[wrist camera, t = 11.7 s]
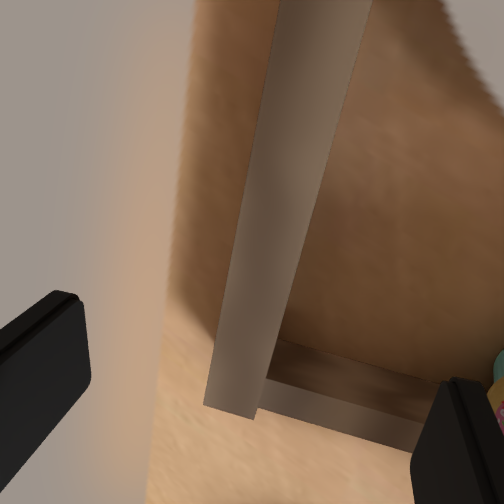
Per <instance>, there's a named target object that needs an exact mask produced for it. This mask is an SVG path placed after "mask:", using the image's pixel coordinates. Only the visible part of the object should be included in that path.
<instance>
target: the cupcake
mask: <svg viewBox="0 0 504 504" xmlns="http://www.w3.org/2000/svg"><path fill="white" fill-rule="evenodd" d="M493 374H494V384H493V385H492V386H491V388H490V389H489V391H488V393H487V397H488V399H489V402H490V404H491V406H492V409H493V411H494V413H495V416H496V418H497V420H498V423H499V425H500V428H501V430H502V432H503V435H504V349H503V350H502V351H501V352H500V354H499V355H498V356H497V358H496V360H495V363H494V367H493Z"/></svg>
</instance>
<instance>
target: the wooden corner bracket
mask: <svg viewBox="0 0 504 504" xmlns="http://www.w3.org/2000/svg"><path fill="white" fill-rule="evenodd" d="M372 2H373V0H280V5H279V10H278V15H277V21H276V26H275V31H274V36H273V42H272V47H271V52H270V57H269V62H268V68H267V73H266V78H265V83H264V89H263V94H262V99H261V104H260V109H259V115H258V120H257V125H256V130H255V135H254V141H253V146H252V151H251V156H250V162H249V167H248V172H247V177H246V182H245V188H244V193H243V198H242V203H241V209H240V214H239V219H238V224H237V229H236V235H235V240H234V245H233V250H232V256H231V261H230V266H229V271H228V276H227V282H226V287H225V292H224V297H223V302H222V308H221V313H220V318H219V323H218V329H217V334H216V339H215V344H214V349H213V355H212V360H211V365H210V370H209V376H208V381H207V386H206V391H205V396H204V402H203V405H205V406H208V407H211V408H215V409H218V410H221V411H225V412H228V413H232V414H235V415H238V416H242V417H245V418H248V419H252V420H254V418H255V414H256V411H257V408H261V409H264V410H268V411H271V412H274V413H278V414H281V415H284V416H288V417H291V418H295V419H298V420H301V421H305V422H308V423H311V424H315V425H318V426H322V427H325V428H328V429H332V430H335V431H338V432H342V433H345V434H349V435H352V436H355V437H359V438H362V439H365V440H369V441H372V442H376V443H379V444H382V445H386V446H389V447H392V448H396V449H399V450H403V451H406V452H409V453H413V452H414V449H415V447H416V444H417V442H418V439H419V437H420V434H421V432H422V429H423V427H424V424H425V422H426V419H427V417H428V414H429V411H430V409H431V406H432V404H433V401H434V399H435V396H436V394H437V391H438V389H439V386H440V384H437V383H433V382H430V381H426V380H423V379H419V378H416V377H412V376H409V375H405V374H401V373H398V372H394V371H391V370H387V369H384V368H380V367H376V366H373V365H369V364H366V363H362V362H359V361H355V360H351V359H348V358H344V357H341V356H337V355H334V354H330V353H327V352H323V351H319V350H316V349H312V348H309V347H305V346H302V345H298V344H294V343H291V342H287V341H284V340H280V339H277V337H278V333H279V330H280V326H281V322H282V319H283V315H284V312H285V308H286V305H287V301H288V298H289V294H290V291H291V287H292V284H293V280H294V277H295V273H296V270H297V266H298V263H299V259H300V255H301V252H302V248H303V245H304V241H305V238H306V234H307V231H308V227H309V224H310V220H311V217H312V213H313V210H314V206H315V203H316V199H317V196H318V192H319V188H320V185H321V181H322V178H323V174H324V171H325V167H326V164H327V160H328V157H329V153H330V150H331V146H332V143H333V139H334V136H335V132H336V129H337V125H338V121H339V118H340V114H341V111H342V107H343V104H344V100H345V97H346V93H347V90H348V86H349V83H350V79H351V76H352V72H353V69H354V65H355V62H356V58H357V54H358V51H359V47H360V44H361V40H362V37H363V33H364V30H365V26H366V23H367V19H368V16H369V12H370V9H371V5H372Z"/></svg>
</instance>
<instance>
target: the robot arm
mask: <svg viewBox="0 0 504 504" xmlns="http://www.w3.org/2000/svg"><path fill="white" fill-rule="evenodd" d="M90 381H91V367H90V358H89V350H88V340H87V331H86V321H85V312H84V305H83V302H82V301H80V300H79V297H78V296H77V295H76V294H73V293H68V292H63V291H59V290H54V291H52V292H51V293H49V294H48V295H46V296H45V297H44V298H42V299H41V300H40V301H38V302H37V303H36V304H34V305H33V306H32V307H30V308H29V309H27V310H26V311H25V312H24V313H22V314H21V315H19V316H18V317H17V318H15V319H14V320H13V321H11V322H10V323H8V324H7V325H6V326H4V327H3V328H2V329H0V493H1V491H2V490H3V489H4V488H5V487H6V485H7V484H8V483H9V482H10V481H11V479H12V478H13V477H14V476H15V475H16V473H17V472H18V471H19V470H20V469H21V467H22V466H23V465H24V464H25V463H26V461H27V460H28V459H29V458H30V457H31V455H32V454H33V453H34V452H35V451H36V449H37V448H38V447H39V446H40V445H41V443H42V442H43V441H44V440H45V439H46V437H47V436H48V435H49V433H51V431H52V430H53V429H54V428H55V426H56V425H57V424H58V423H59V422H60V420H61V419H62V418H63V417H64V416H65V415H66V413H67V412H68V411H69V410H70V408H71V407H72V406H73V405H74V404H75V402H76V401H77V400H78V399H79V398H80V396H81V395H82V394H83V393H84V392H85V390H86V389H87V388H88V386H89V384H90ZM410 475H411V481H412V488H413V495H414V501H415V504H504V435H503V432H502V430H501V428H500V425H499V423H498V420H497V418H496V416H495V413H494V411H493V409H492V406H491V404H490V402H489V399H488V397H487V395H486V392H485V390H484V387H483V386H482V384H481V383H480V382H477V381H473V380H468V379H463V378H459V377H452V378H451V379H450V381H449V382H448V381H442V382H441V384H440V386H439V389H438V391H437V394H436V396H435V399H434V401H433V404H432V406H431V409H430V411H429V414H428V417H427V419H426V422H425V424H424V427H423V429H422V432H421V434H420V437H419V439H418V442H417V444H416V447H415V449H414V452H413V454H412V457H411V462H410Z"/></svg>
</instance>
